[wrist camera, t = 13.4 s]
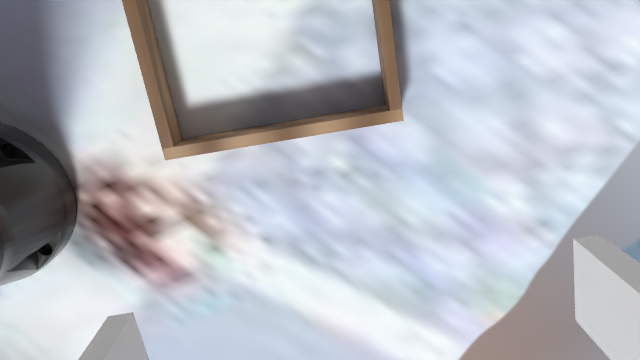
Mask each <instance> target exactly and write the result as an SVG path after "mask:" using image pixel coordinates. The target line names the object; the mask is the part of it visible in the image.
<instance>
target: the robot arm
mask: <svg viewBox="0 0 640 360" xmlns="http://www.w3.org/2000/svg"><path fill="white" fill-rule="evenodd" d="M75 220H76V202H75V196H74V192H73V188H72V185H71V183H70V180H69V178H68V176H67V174H66V172H65V171H64V169H63V168H62V166H61V165H60V163H59V162H58V160H57V159H56V158H55V157H54V156H53V155H52V154H51V152H50V151H49V150H48V149H46V148H45V147H44V146H43V145H42V144H41V143H39V142H38V141H37V140H35V139H34V138H32V137H31V136H29V135H28V134H26V133H24V132H22V131H20V130H18V129H16V128H13V127H10V126H8V125H4V124H1V123H0V286H1V285H4V284H7V283H11V282H14V281H17V280H20V279H23V278H26V277H28V276H30V275H32V274H34V273H36V272H37V271H39V270H40V269H42V268H43V267H44V266H46V265H47V264H48V263H49V262H50V261H51V260H52V259H54V258H55V257H56V256H57V255H58V254H59V253H60V252H61V251H62V250H63V248H64V247H65V246H66V244H67V243H68V241H69V239H70V237H71V235H72V232H73V229H74V226H75ZM573 243H574V244H573V245H574V281H575V319H576V321H577V322H578V323H579V324H580V326H581V327H582V328H583V329H584V330H585V331H586V332H587V334H588V335H589V336H590V337H591V338H592V339H593V340H594V341H595V343H596V344H597V345H598V346H599V347H600V348H601V349H602V351H603V352H604V353H605V354H606V355H607V356H608V357H609V358H610V360H640V263H638V262H637V261H636V260H634V259H633V258H632V257H630V256H629V255H628V254H626V253H625V252H623V251H622V250H621V249H619V248H618V247H617V246H615V245H614V244H613V243H611V242H610V241H609V240H607V239H606V238H605V237H603V236H602V235H600V234H598V235H592V236H586V237H580V238H574V239H573ZM79 360H149V358H148V355H147V352H146V349H145V347H144V344H143V341H142V338H141V335H140V332H139V329H138V326H137V323H136V320H135V317H134V314H133V313H127V314H121V315H115V316H109V317H108V318H107V319H106V321H105V322H104V323H103V325H102V326H101V328H100V329H99V331H98V332H97V334H96V335H95V337H94V338H93V339H92V341H91V342H90V344H89V345H88V347H87V348H86V350H85V351H84V352H83V354H82V355H81V357H80V358H79Z"/></svg>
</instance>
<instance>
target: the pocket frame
mask: <svg viewBox="0 0 640 360" xmlns="http://www.w3.org/2000/svg"><path fill="white" fill-rule="evenodd" d="M122 2H123V6H124V10H125V13H126V17H127V21H128V25H129V28H130V32H131V36H132V39H133V43H134V47H135V50H136V54H137V58H138V61H139V65H140V69H141V72H142V76H143V80H144V84H145V87H146V91H147V95H148V98H149V102H150V106H151V109H152V113H153V117H154V120H155V124H156V128H157V131H158V135H159V139H160V143H161V146H162V150H163V154H164V157H165V160H170V159H176V158H182V157H188V156H194V155H200V154H206V153H212V152H218V151H224V150H230V149H236V148H242V147H248V146H254V145H260V144H266V143H272V142H278V141H284V140H290V139H296V138H302V137H308V136H314V135H320V134H326V133H332V132H338V131H344V130H350V129H356V128H362V127H368V126H374V125H380V124H386V123H392V122H398V121H404V120H403V111H402V103H401V94H400V86H399V77H398V69H397V60H396V52H395V43H394V35H393V26H392V18H391V9H390V1H389V0H372V4H373V12H374V19H375V27H376V35H377V43H378V51H379V59H380V66H381V74H382V82H383V90H384V98H385V105H383V106H377V107H371V108H365V109H359V110H353V111H347V112H341V113H336V114H330V115H324V116H318V117H312V118H306V119H300V120H294V121H288V122H282V123H276V124H270V125H264V126H258V127H252V128H246V129H240V130H234V131H229V132H223V133H217V134H211V135H205V136H199V137H193V138H187V139H182V135H181V131H180V127H179V123H178V120H177V116H176V112H175V108H174V104H173V100H172V96H171V92H170V88H169V85H168V81H167V77H166V73H165V69H164V65H163V61H162V57H161V53H160V50H159V46H158V42H157V38H156V34H155V30H154V26H153V22H152V18H151V15H150V11H149V7H148V3H147V0H122Z"/></svg>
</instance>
